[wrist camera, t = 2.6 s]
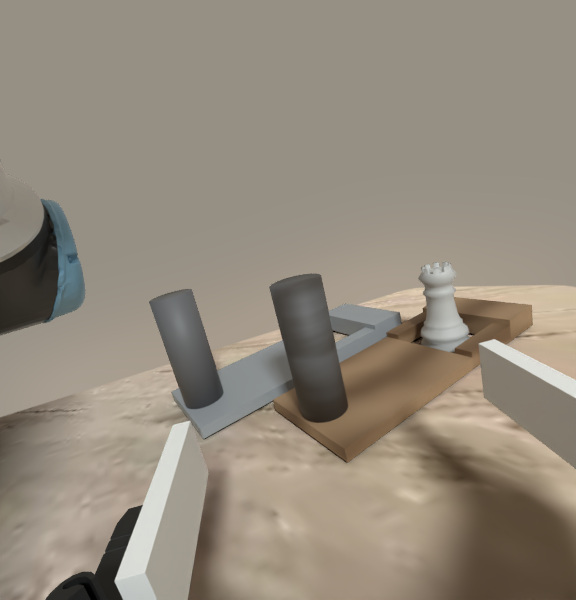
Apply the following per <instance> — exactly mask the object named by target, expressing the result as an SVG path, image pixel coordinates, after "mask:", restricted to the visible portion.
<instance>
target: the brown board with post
mask: <svg viewBox="0 0 576 600" xmlns="http://www.w3.org/2000/svg"><path fill="white" fill-rule="evenodd" d="M269 288H270V292H271V296H272V300H273V304H274V307H275V312H276V316H277V319H278V323H279V327H280V331H281V335H282V339H283V343H284V347H285V351H286V355H287V359H288V363H289V367H290V371H291V375H292V379H293V383H294V387H295V388H293V389H291V390H290V391H288V392H286V393H284V394H282V395H280V396H279V397H277V398H275V399H273V402H274V406H275V410H276V411H278V412H279V413H280V414H282V415H283V416H284V417H286V418H287V419H289V420H290V421H291V422H293V423H294V424H295V425H297V426H298V427H300V428H301V429H302V430H304V431H305V432H306V433H308V434H309V435H311V436H312V437H313V438H315V439H316V440H317V441H319V442H320V443H322V444H323V445H324V446H326V447H327V448H328V449H330V450H331V451H333V452H334V453H335V454H337V455H338V456H339V457H341V458H342V459H344V460H345V461H346V462H349V461H350V460H352V459H353V458H354V457H356V456H357V455H358V454H360V453H361V452H362V451H364V450H365V449H366V448H368V447H369V446H370V445H372V444H373V443H374V442H376V441H377V440H378V439H380V438H381V437H382V436H384V435H385V434H386V433H388V432H389V431H391V430H392V429H393V428H395V427H396V426H397V425H399V424H400V423H401V422H403V421H404V420H405V419H407V418H408V417H409V416H411V415H412V414H413V413H415V412H416V411H417V410H419V409H420V408H421V407H423V406H424V405H425V404H427V403H428V402H429V401H431V400H432V399H433V398H435V397H436V396H438V395H439V394H440V393H442V392H443V391H444V390H446V389H447V388H448V387H450V386H451V385H452V384H454V383H455V382H456V381H458V380H459V379H460V378H462V377H463V376H464V375H466V374H467V373H468V372H470V371H471V370H472V369H474V368H475V367H476V366H478V365H479V364H481V363H480V354H479V343H482V342H486V341H490V340H493V339H495V340H497V341H499V342H501V343H503V344H505V345H506V344H507V343H509V342H510V341H511V340H513V339H514V338H515V337H517V336H518V335H519V334H521V333H522V332H524V331H525V330H526V329H528V328H529V327H530V326H532V325H533V322H532V305H526V304H516V303H506V302H496V301H486V300H476V299H466V298H456V297H454V301H455V304H456V308H457V312H458V314H459V316H460V318H462V319H463V323H464V324H465V325H467V327H468V329H469V333H472V334H475V335H474V336H472V337H470V338H469V339H467V340H466V341H464V342H463V343H461V344H460V345H458V346H457V347H455V353H451V352H447V351H443V350H439V349H435V348H431V347H427V346H423V345H419V344H414V343H411V342H412V341H414V340H416V339H417V338H419V337H421V329H422V327H423V326H424V321H426V316H427V306H425V307H424V308H423V313H421V314H419V315H417V316H415V317H413V318H412V319H410V320H408V321H406V322H404V323H402V324H401V325H399V326H397V327H395V328H393V329H391V330H390V331H388V332H386V334H387V337H386V338H384V339H382V340H380V341H378V342H377V343H375V344H373V345H371V346H369V347H367V348H366V349H364V350H362V351H360V352H358V353H357V354H355V355H353V356H351V357H349V358H348V359H346V360H344V361H342V362H340V363H339V358H338V354H337V349H336V344H335V340H334V335H333V330H332V325H331V321H330V316H329V311H328V307H327V302H326V297H325V292H324V288H323V283H322V278H321V275H319V274H304V275H299V276H294V277H290V278H286V279H283V280H281V281H278V282H276V283H274V284H272V285H271V286H270V287H269Z"/></svg>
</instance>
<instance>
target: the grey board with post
mask: <svg viewBox="0 0 576 600" xmlns="http://www.w3.org/2000/svg"><path fill="white" fill-rule="evenodd" d="M149 303H150V306H151V309H152V312H153V314H154V317H155V320H156V323H157V326H158V328H159V331H160V334H161V337H162V340H163V343H164V346H165V349H166V352H167V355H168V357H169V360H170V363H171V366H172V369H173V372H174V375H175V377H176V380H177V383H178V386H179V388H178V389H176V390H174V391H172V395H173V398H174V401H175V402H176V403H177V404H178V406H179V407H180V408H181V410H182V411H183V412H184V414H185V415H186V416H187V418H188V419H189V420H190V421H191V423H192V424H193V426H194V427H195V428H196V430H197V431H198V432H199V434H200V435H201V436H202V438H203V439H204V438H206V437H208V436H210V435H212V434H213V433H215V432H217V431H219V430H221V429H222V428H224V427H226V426H228V425H230V424H231V423H233V422H235V421H237V420H239V419H240V418H242V417H244V416H246V415H248V414H250V413H251V412H253V411H255V410H257V409H259V408H260V407H262V406H264V405H266V404H268V403H269V402H271V401H273V399H275V398H277V397H279V396H280V395H282V394H284V393H286V392H288V391H290V390H291V389H293V388H295V387H294V383H293V379H292V375H291V371H290V367H289V363H288V359H287V355H286V351H285V347H284V343H283V340H282V341H280V342H278V343H276V344H274V345H271V346H269V347H267V348H265V349H263V350H261V351H258V352H256V353H254V354H252V355H250V356H248V357H246V358H243V359H241V360H239V361H237V362H235V363H233V364H230V365H228V366H226V367H224V368H222V369H220V370H217V369H216V365H215V362H214V359H213V356H212V353H211V350H210V346H209V343H208V340H207V337H206V333H205V330H204V327H203V324H202V321H201V318H200V315H199V311H198V308H197V305H196V302H195V299H194V295H193V292H192V290H191V289H185V290H179V291H175V292H171V293H167V294H164V295H161V296H159V297H157V298H154V299H152V300H151V301H150V302H149ZM329 316H330V321H331V325H332V330H333V331H337V332H340V333H344V334H348V335H349V336H347V337H345V338H343V339H342V340H340V341H338V342H336V343H335V344H336V349H337V354H338V358H339V363H340V362H342V361H344V360H346V359H348V358H349V357H351V356H353V355H355V354H357V353H358V352H360V351H362V350H364V349H366V348H367V347H369V346H371V345H373V344H375V343H377V342H378V341H380V340H382V339H384V338H386V337H387V334H386V332H388V331H390V330H391V329H393V328H395V327H397V326H399V325H401V317H400V312H394V311H388V310H382V309H376V308H369V307H363V306H357V305H350V304H344V305H341V306H339V307H337V308H335V309H332V310H330V311H329Z"/></svg>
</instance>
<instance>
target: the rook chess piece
mask: <svg viewBox="0 0 576 600" xmlns="http://www.w3.org/2000/svg"><path fill="white" fill-rule="evenodd" d="M442 264H443V267H439V262H436V263H433V265H434V268H430V264H427V265H424V267H422V268H421V269H422V273H421V275H420V276H419V280H420V281H421V282H422V283H423V284H424V285H425V290H424V292H423V294H424V295H425V296H426V302H427V316H426V321H424V326H423V327H422V329H421V337H422V338H423V339H422V340H421V345H423V346H427V347H431V348H435V349H439V350H443V351H447V352H451V353H455V347H457V346H458V345H460V344H461V343H463V342H464V341H466V340H467V339H469V338H470V337H469V336H467V335H468V334H469V329H468V327H467V325H465V324H464V323H463V319H462V318H460V316H459V314H458V312H457V308H456V304H455V301H454V292H455V291H456V289H455V288H454V287H453V286H452V281H453V280H454V278H455V276H456V275H457V273H456V272H455V271H454V270H453V269H452V268H451V263H448V262H443V263H442Z"/></svg>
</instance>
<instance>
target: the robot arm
mask: <svg viewBox="0 0 576 600" xmlns="http://www.w3.org/2000/svg"><path fill="white" fill-rule="evenodd" d="M77 255H78V254H77V250H76V245H75V241H74V238H73V235H72V232H71V229H70V227H69V224H68V221H67V219H66V216H65V214H64V212H63V210H62V208H61V207H60V205H59V204H58V203H56V202H55V201H52V200H43V199H40V198H39V196H38V195H37V194H36V193H35V191H34V190H33V189H32V188H31V187H30V186H29V185H27V184H26V183H24V182H23V181H21V180H19V179H17V178H15V177H13V176H10V175H8V174H6V172H5V169H4V167H3V165H2V163H1V161H0V335H3V334H7V333H10V332H13V331H17V330H20V329H23V328H27V327H30V326H33V325H37V324H40V323H47V322H50V321H51V320H53V319H54V318H56V317H59V316H61V315H64V314H67V313H70V312H72V311H75V310H77V309H78V308H79V307H80V306H81V305H82V303H83V301H84V298H85V284H84V278H83V272H82V268H81V264H80V261H79V259H78V257H77ZM479 354H480V363H481V373H482V383H483V392H484V398H486V399H487V400H488V401H489V402H491V403H492V404H493V405H495V406H496V407H497V408H498V409H500V410H501V411H502V412H503V413H505V414H506V415H507V416H509V417H510V418H511V419H512V420H514V421H515V422H516V423H518V424H519V425H520V426H521V427H523V428H524V429H525V430H527V431H528V432H529V433H530V434H532V435H533V436H534V437H536V438H537V439H538V440H539V441H541V442H542V443H543V444H545V445H546V446H547V447H548V448H550V449H551V450H552V451H554V452H555V453H556V454H557V455H559V456H560V457H561V458H562V459H564V460H565V461H566V462H568V463H569V464H570V465H571V466H573V467H574V468H575V469H576V380H574V379H572V378H570V377H568V376H566V375H564V374H562V373H560V372H558V371H556V370H555V369H553V368H551V367H549V366H547V365H545V364H543V363H541V362H539V361H537V360H535V359H533V358H531V357H529V356H527V355H525V354H523V353H521V352H519V351H517V350H515V349H513V348H511V347H509V346H507V345H505V344H503V343H501V342H499V341H497V340H495V339H493V340H490V341H486V342H482V343H479ZM208 474H209V472H208V469H207V466H206V463H205V461H204V458H203V455H202V452H201V449H200V446H199V444H198V441H197V438H196V435H195V432H194V429H193V426H192V424H191V421H187V422H183V423H179V424H175V425H173V426H172V429H171V432H170V434H169V437H168V440H167V442H166V445H165V448H164V450H163V453H162V456H161V458H160V461H159V464H158V466H157V469H156V472H155V474H154V477H153V480H152V482H151V485H150V488H149V490H148V493H147V496H146V498H145V501H144V504H143V505H141V506H137V507H134V508H130V509H128V511H127V512H126V513H125V514H124V516H123V517H122V518H121V519H120V521H119V522H118V523H117V525H116V527H115V530H114V532H113V534H112V536H111V541H109V543H108V546H107V548H106V550H105V554H104V555H103V557H102V559H101V562H100V564H99V566H98V568H97V571H96V573H95V575H94V574H93V573H92V572H81V573H78V574H76V575H73V576H71V577H70V578H68V579H67V580H65V581H63V582H62V583H61V584H60V585H58V586H57V587H56V588H55V589H54V590H53V591H52V592H51V593H50V594H49V596H48V597H47V598H46V600H188V594H189V588H190V582H191V576H192V570H193V564H194V558H195V552H196V546H197V540H198V534H199V528H200V522H201V516H202V510H203V504H204V498H205V492H206V486H207V480H208Z"/></svg>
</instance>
